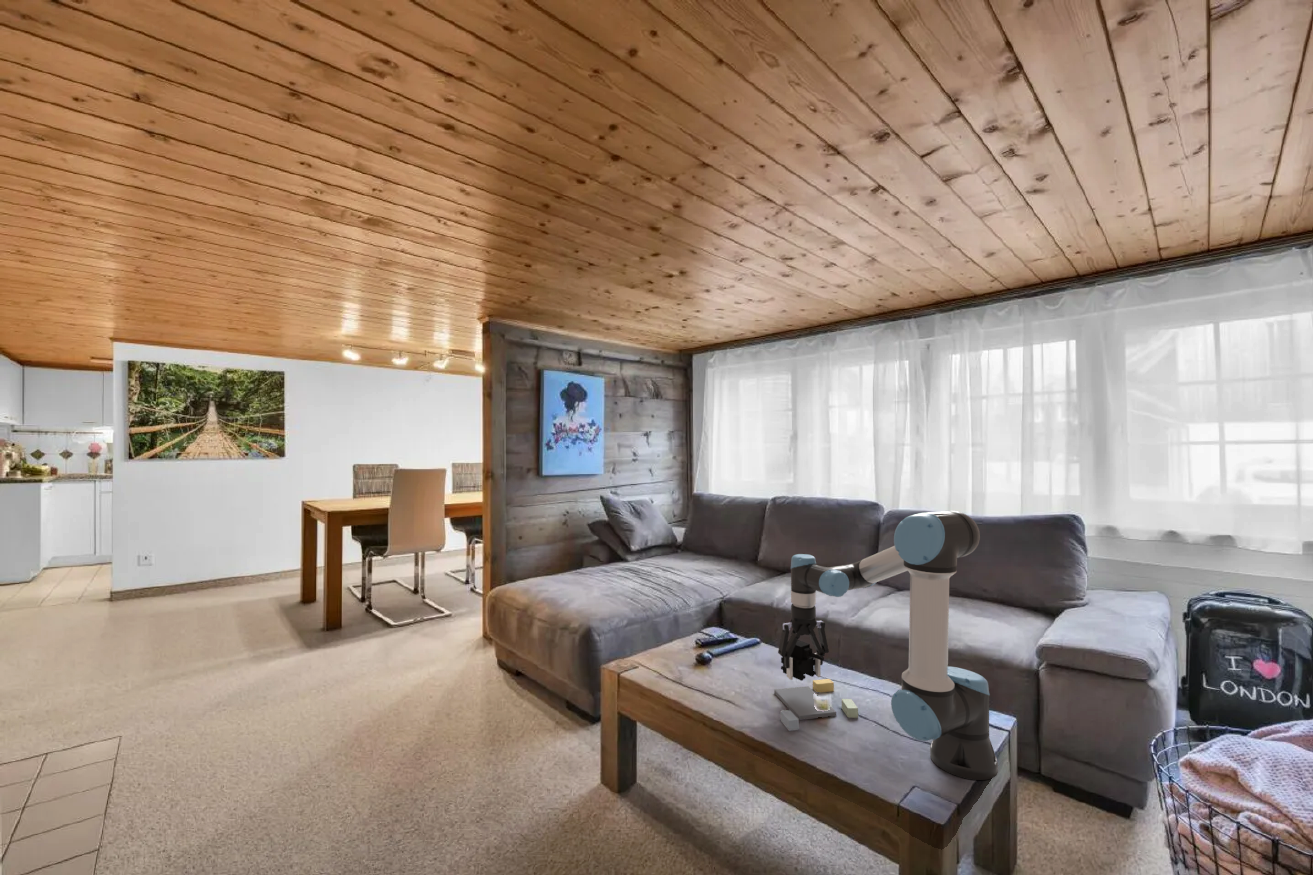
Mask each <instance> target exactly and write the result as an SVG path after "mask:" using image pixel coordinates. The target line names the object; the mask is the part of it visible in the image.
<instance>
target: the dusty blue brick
mask: <svg viewBox="0 0 1313 875" xmlns="http://www.w3.org/2000/svg"><path fill="white" fill-rule="evenodd" d="M780 722H781V723H782V724H783V725H784V726H785V728H786V729H787V730H788V731H798V730H800V724H799V723H800V720H799V719H798V718H797V717H796V716H795V715H794V714H793V713H792V712H791V710H790V709H787V710H786V709H784V710H780Z"/></svg>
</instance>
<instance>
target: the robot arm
mask: <svg viewBox="0 0 1313 875" xmlns="http://www.w3.org/2000/svg"><path fill="white" fill-rule="evenodd" d="M980 535H981V533H980V529H979V527H978V524H977V523H976V522H975V520H974V519H973V518H971V517H970V516H969V515H968V514H965V513H963V512H961V511H957V510H945V511H935V512H934V511H932V512H919V513H916V514H912V515H911V514H910V515H909V516H906V517H904V519H903V518H902V520H901V521H900V522H898V525H897V526H896V528H895V531H894V535H893V544H894V545H893V546H891V547H888V548H886V549H884V550H881V551H879V552H877V553H875V554H873V555H870V556H867V557H865V558H863V559H861V560H859V561H856V562H853V563H850V564H842V565H836V566H830V567H828V566H827V567H826V566H822V565H818V564H817V562H816V557H815V556H813V555H811V554H807V553H805V554H803V553H798V554H794V555H792V557H791V562H790V603H791V604H790V616H791V619H790V621H789V622H786V623H785V622H782V623H781V630H782V631H781V635H780V640H779V644H778V645H779V646H778V650H777V654H779V655H780V656H781V657H784V666H785V667H786V668H787V674H786V677H787V678H788V679H789V680H790V681H792V680H793V678H794V677H793V659H792V658H791V657H790V656H791V654H792V652H793V649H794V647H795V645H796V642H797V640H799V639H800V637H801V636H808V637H809V638H810V641H811V643H812V645H813V647H814V650H815V651H816V652H815V653H814V654H817V655H819V656H822V657H825V655H826V654H828V653H829V644H828V641H827V635H826V630H825V629H826V623H825V622H824V621H822V620H821V619H818V620H816V616H817V614H816V613H817V610H816V609H817V607H816V604H817V599H816V598H817V597H816V596H817V595H816V594H817V593H816V592H819V593H822V594H824V595H827V596H830V597H836V598H841V597H843V596H844V595H845V594H846V593H848V591H851V590H857V589H868V588H869V587H872V586H874V585H876V584H877V582H881V581H884V580H886V579H889V578H891V577H895V576H897V575H899V574H903V573H905V572H908V573H909V574H910V575H909V620H908V621H909V625H908V626H909V628H908V631H909V632H908V634H909V635H908V668H907V669H905V670H904V671H903V672H902V673H901V688H900V689H897V690H896V691H895V693H893V694H892V697H891V702H890V705H891V706H890V707H891V710H892V713H893V717H894V718H895V720H896V722H897V723H898V724H899V727H900V728H901V729H902V730H903V731H904V732H905V733H906V734H907V735H908V736H910V737H911V738H913V739H915V740H918V741H921V742H926V741H931V740H932V741H931V744H930V746H929V754H930V755H929V756H930V759H931V761H932V762H933V763H934V764H935V765H936V766H937V767H938V768H940V769H941V770H943V771H945V772H946V773H949V774H951V775H953V776H956V777H960V778H963V779H967V780H973V781H975V780H976V781H986V780H992V779H994V778H995V777H997V775H998V773H999V763H998V762H999V761H998V759H997V756H996V754H995V753H996V752H995V749H994V748H993V744H992V741H991V739H990V696H991V694H990V691H989V690H990V688H989V682H988V680H987V679H986V678H985V677H984V676H983V675H980V674H979V673H977V672H974V671H971V670H969V669H965V668H961V667H956V666H949V665H948V664H949V629H950V628H949V624H950V623H949V618H950V616H949V615H950V614H949V612H950V610H949V609H950V578H951V577H953V575H955V574H956V573H957V572H958V571H957V570H958V569H957V568H958V559H960V558H963V557H966V556H968V555H970V554H972V553H973V552H974V551H976V549H977V548H978V546H979V544H980V540H981V536H980ZM791 628H792V631H791ZM815 628H817V634H818V638H819V640H818V638H817V636H816V635H817V634H816V632H815ZM790 631H791V633H790ZM789 636H790V637H789ZM788 641H789V642H788ZM787 642H788V644H787ZM819 642H820V643H819ZM813 658H814V657H813ZM814 659H815V665H814V671H815V672H816V675H815V676H816V677H817V678H821V675H822V674H821V673H822V672H821V666H823V664H824V660H823V661H822V660H819V659H817V658H814Z"/></svg>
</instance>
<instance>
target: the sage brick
mask: <svg viewBox="0 0 1313 875" xmlns="http://www.w3.org/2000/svg"><path fill="white" fill-rule="evenodd" d="M841 709H842V711H843V713H845V714H844V715H845V716H846V717H847V718H848V719H851V718H853V719H858V718H859V707H858V706H857V704H856V703H855V702H854V701H853V699H852V698H841Z"/></svg>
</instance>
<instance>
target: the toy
mask: <svg viewBox="0 0 1313 875" xmlns="http://www.w3.org/2000/svg"><path fill="white" fill-rule="evenodd" d="M788 642H789V640H788ZM788 642H787V644H788ZM790 657H791V658H792V659H793V678H795V679H797V680H798V681H801V682H802V681H804V680H805V679H806V675H807V676H810V677H814V676H816V672H815V671H814V665H815V659H814V658H817V659H819V660H822V661H823V662H824V660H825V656H823V657H822V656H819V655H817V654H814V653H813V648H811V645H810V643H808V642H805V641H803V640H799V639H798V640H797V642H796V645H795V647H794V649H793V652H792V654H791V656H790ZM780 663H781V664H782V665H781V666H780V670H782V673H783V674H785V675H787V668H786V667H785V666H784V657H782V656H781V657H780Z"/></svg>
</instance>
